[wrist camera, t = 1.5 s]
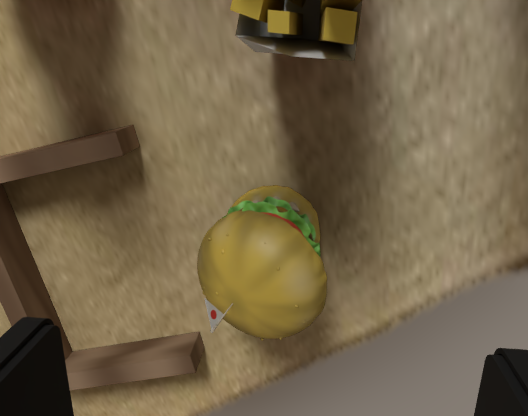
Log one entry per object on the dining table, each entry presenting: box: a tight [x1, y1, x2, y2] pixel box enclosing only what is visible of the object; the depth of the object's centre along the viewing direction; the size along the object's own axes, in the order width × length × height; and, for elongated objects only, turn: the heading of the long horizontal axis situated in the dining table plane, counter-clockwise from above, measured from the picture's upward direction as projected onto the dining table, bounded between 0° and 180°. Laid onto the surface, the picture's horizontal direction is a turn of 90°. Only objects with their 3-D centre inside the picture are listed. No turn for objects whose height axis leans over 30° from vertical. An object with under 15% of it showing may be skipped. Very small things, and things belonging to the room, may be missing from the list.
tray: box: [0, 125, 204, 390], centre depth 33 cm, size 12×18×3 cm
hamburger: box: [197, 185, 327, 340], centre depth 27 cm, size 8×7×12 cm
